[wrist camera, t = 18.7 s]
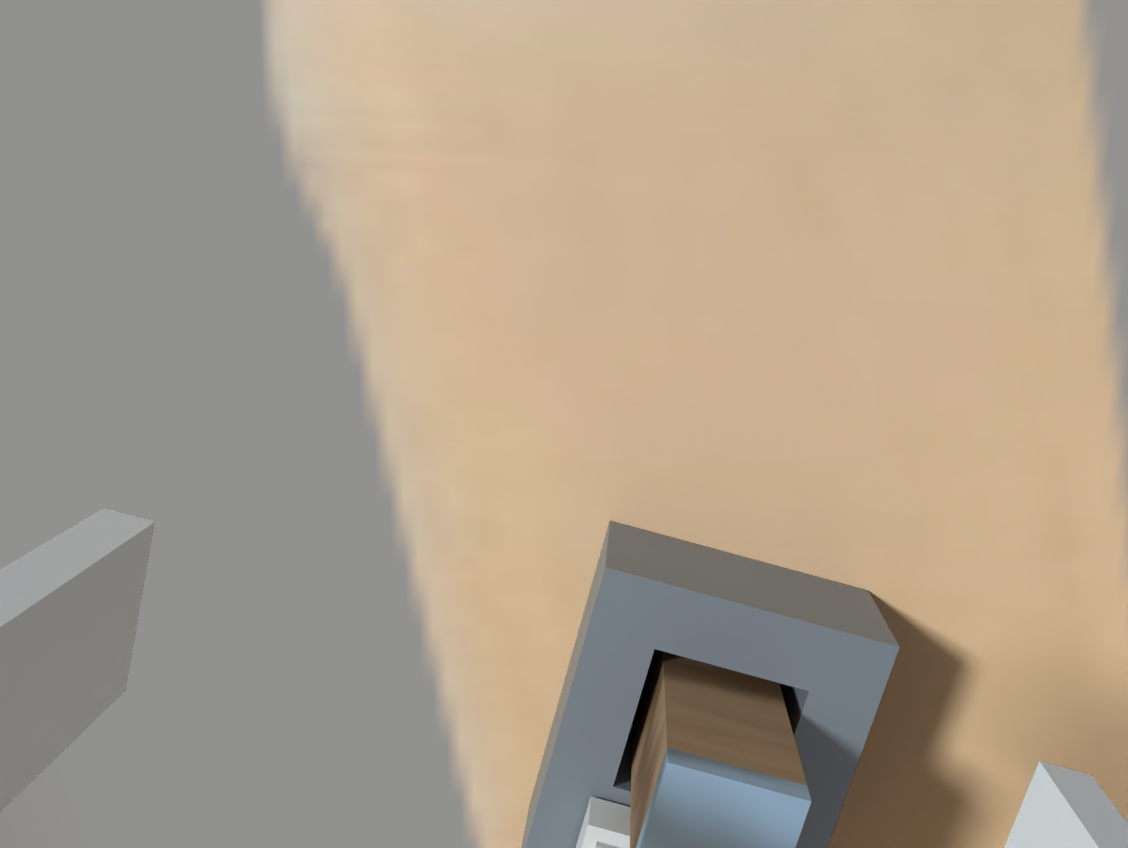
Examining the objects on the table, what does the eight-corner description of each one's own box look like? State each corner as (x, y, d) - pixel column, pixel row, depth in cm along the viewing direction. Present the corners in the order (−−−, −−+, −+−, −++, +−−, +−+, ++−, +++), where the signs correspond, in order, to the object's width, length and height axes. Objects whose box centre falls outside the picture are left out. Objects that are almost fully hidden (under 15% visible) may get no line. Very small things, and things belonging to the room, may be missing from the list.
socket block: (609, 520, 48) (605, 566, 42) (868, 590, 47) (900, 647, 42) (529, 806, 51) (514, 886, 45) (769, 872, 51) (786, 961, 45)
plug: (661, 620, 47) (667, 762, 36) (770, 649, 47) (811, 801, 36) (632, 718, 48) (628, 887, 37) (738, 747, 48) (768, 925, 37)
